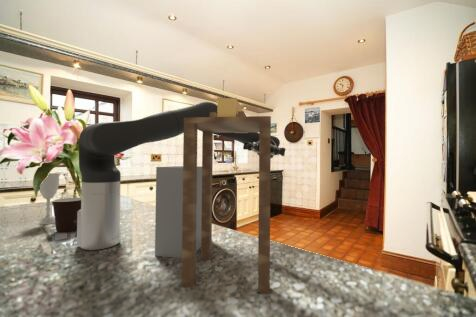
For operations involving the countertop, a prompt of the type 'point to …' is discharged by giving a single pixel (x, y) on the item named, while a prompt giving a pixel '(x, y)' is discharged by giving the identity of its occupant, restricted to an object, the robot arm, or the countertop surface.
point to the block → (173, 211)
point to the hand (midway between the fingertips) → (262, 149)
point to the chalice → (49, 195)
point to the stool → (190, 189)
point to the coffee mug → (66, 214)
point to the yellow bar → (228, 108)
